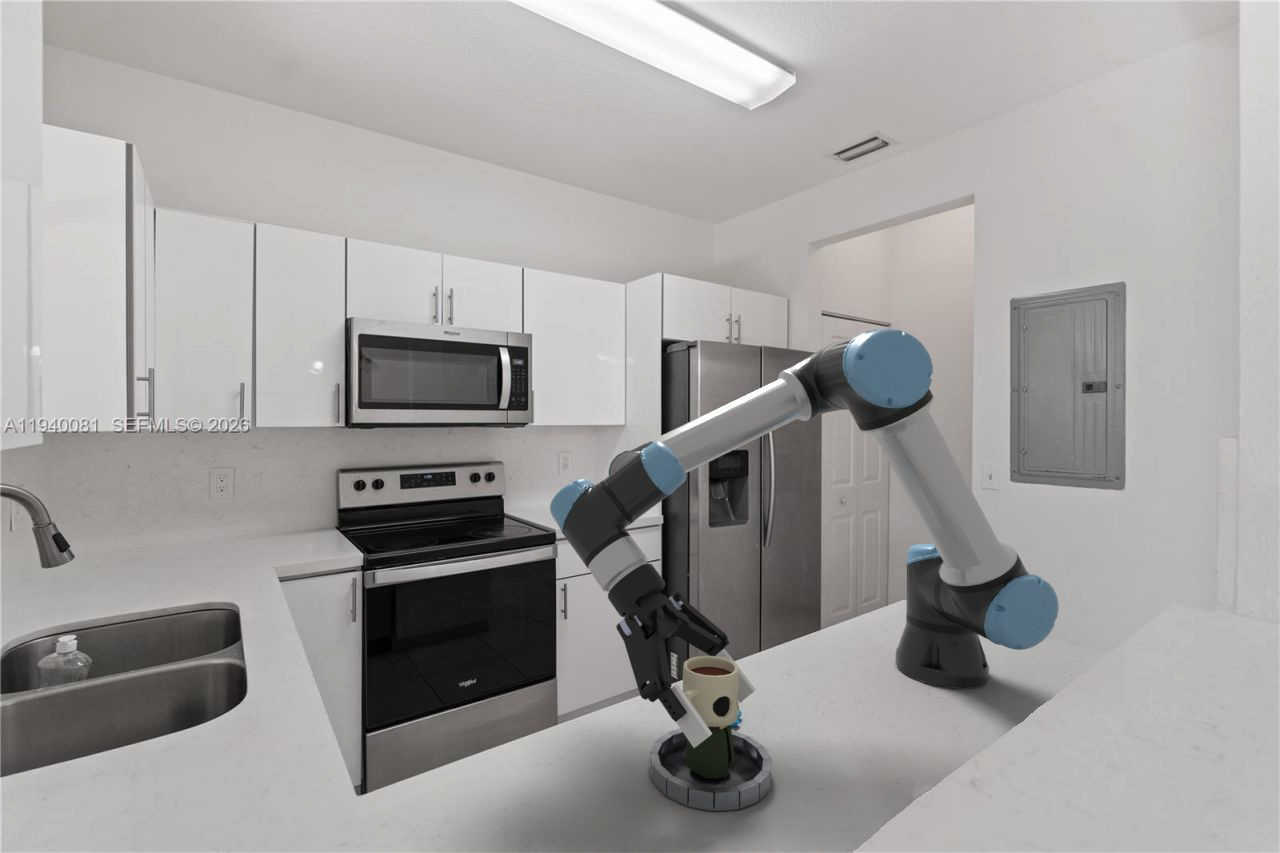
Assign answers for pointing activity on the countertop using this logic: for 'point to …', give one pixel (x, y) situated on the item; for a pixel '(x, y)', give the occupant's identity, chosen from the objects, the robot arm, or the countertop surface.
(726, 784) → the grey round tray
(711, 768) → the character mug
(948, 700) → the countertop surface
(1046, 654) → the countertop surface
